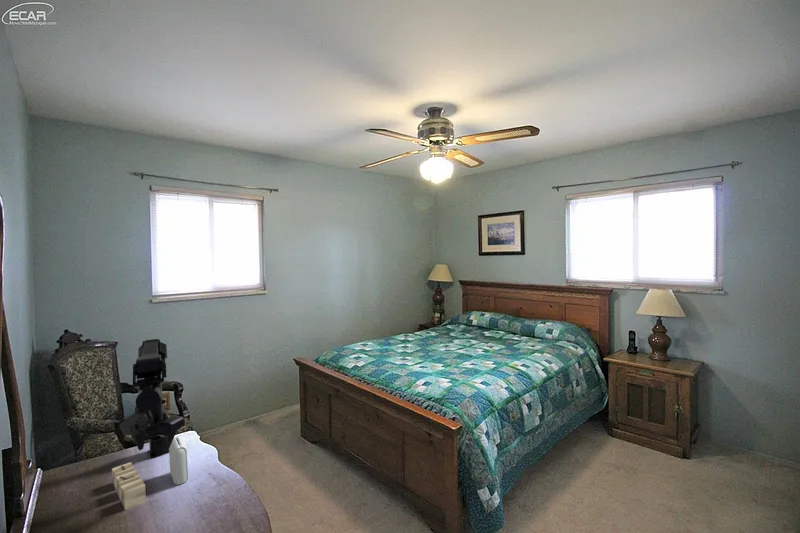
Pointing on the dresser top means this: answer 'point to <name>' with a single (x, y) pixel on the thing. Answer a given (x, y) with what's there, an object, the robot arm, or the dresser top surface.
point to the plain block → (133, 494)
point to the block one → (121, 471)
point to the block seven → (126, 480)
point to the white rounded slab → (178, 461)
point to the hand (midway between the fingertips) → (153, 451)
